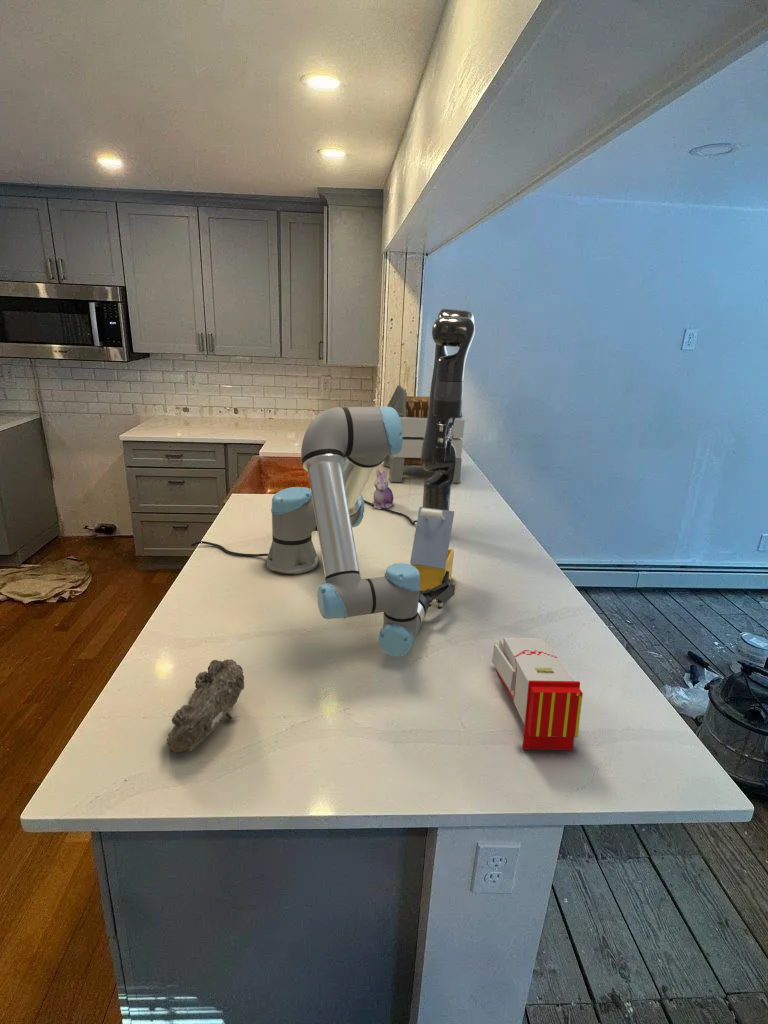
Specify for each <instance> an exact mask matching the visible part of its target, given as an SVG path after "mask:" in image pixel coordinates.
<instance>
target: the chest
mask: <svg viewBox="0 0 768 1024" xmlns="http://www.w3.org/2000/svg"><path fill="white" fill-rule="evenodd" d="M454 553H455V549H454V548H449V549H448V555H447V561H446V567H445V569H440V568H434V567H428V566H422V565H415V564H410V565H412V566H414V567H415V568H416V569H417V570H418V571H419V574H420V591H424V590H427V589H432V588H434V587H437V586H439V585H441V584H442V580H443V578H444V576H445V573H446V571H449V579H450V580H451V581H452V578H453V577H452V576H453V567H454V556H455V555H454ZM435 599H436V598H435ZM435 599H433V600H435Z"/></svg>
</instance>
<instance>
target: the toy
mask: <svg viewBox="0 0 768 1024" xmlns="http://www.w3.org/2000/svg"><path fill="white" fill-rule="evenodd" d="M491 663H492V665H493V666H494V668H495V671H496V673H497V674H498V676H499V678H500V680H501V682H502V683H503V685H504V687H505V688H506V690H507V692H508V694H509V696H510V698H511V699H512V701H513V704H514V706H515V707H516V708H515V709H516V710H517V712H518V715H519V717H520V719H521V721H522V723H523V725H524V727H523V737H522V749H523V750H548V751H549V750H552V751H553V750H554V751H555V750H556V751H557V750H559V751H560V750H561V751H572V750H574V741H575V738H578V736H579V729H580V722H581V721H580V720H581V713H582V704H583V695H584V694H583V691H582V690H581V687H580V686H581V682H580V681H578V680H574V678H573V677H572V676H571V674H570V673H569V672H568V670H567V669H566V667H565V665H563V663H562V662H561V661H560V659H559V658H558V656H557V655H556V653H555V652H554V651H553V650H552V647H551V645H550V644H549V643H548V642H547V641H546V640H545V638H544V637H543V638H542V637H541V638H539V637H503V638H499V642H498V643H494V644H493V649H492V658H491Z"/></svg>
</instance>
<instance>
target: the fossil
mask: <svg viewBox="0 0 768 1024" xmlns="http://www.w3.org/2000/svg"><path fill="white" fill-rule="evenodd" d="M243 670H244V669H243V667H242V665H240V664H237V662H236V661H235V660H234V659H232V658H231V659H227V658H226V659H224V660H223V661H222V660H217V659H212V660H211V661H210V663H209V665H208V666H207V671H201V672H199V673H198V674H197V675H196V676H195V680H194V684H195V685H194V687H195V689H194V690H193V693H192V694H191V697H190V698H189V700H188V704H184V705H182V706H181V707H180V709H177V710H176V711H175V713H174V715H173V716H172V718H171V723H172V724H173V727H172V730H171V731H170V732H168V734H167V738H166V741H167V742H166V745H167V749H168V750H169V751H173V752H174V753H176V754H178V753H182V752H188V751H189V752H192V751H193V750H195V748H196V747H197V746H199V744H200V743H201V742H203V741H204V740H205V739H206V738H207V737H208V736H209V735H210V734H211V733H212V732H214V730H215V729H217V727H218V726H219V724H220V722H221V721H222V720H223V719H224V718H225V716H226V717H227V719H229V720H233V717H232V715H230V714H229V710H230V709H231V708H234V706H235V704H236V703H237V702H238V699H239V697H240V695H241V693H242V691H243V690H245V689H244V688H245V675H244V671H243Z"/></svg>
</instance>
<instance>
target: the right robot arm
mask: <svg viewBox="0 0 768 1024" xmlns="http://www.w3.org/2000/svg"><path fill="white" fill-rule="evenodd" d="M475 326H476V325H475V317H474V314H473V313H472V312H471V311H468V310H464V309H453V308H442V309H440V311H439V313H438V316H437V319H435V321H434V322H433V325H432V329H431V337H432V340H433V343H435V349H434V362H433V370H432V376H431V383H430V391H429V397H430V399H429V410H428V418H427V425H426V431H425V436H424V440H423V445H422V451H421V464H422V466H421V467H422V469H423V470H424V471H426V472H428V473H429V472H434V474H433V475H431V476H429V477H428V478H427V479H425V480H424V482H423V493H422V496H423V497H422V506H421V507H425V508H433V509H440V510H448V511H450V504H451V494H452V493H451V491H452V486H453V484H454V483H453V480H454V472H455V465H456V451H455V448H454V446H453V445H452V444H451V442H450V441H452V440H453V437H454V423H455V418H458V417H460V416H461V412H463V411H462V409H463V399H464V377H465V376H464V375H465V366H466V360H467V356H468V353H469V351H470V347H471V345H472V342H473V339H474V337H475V333H476V327H475ZM447 347H457V348H458V350H457V351H456V353H453V354H449V355H448V351H447ZM440 440H442V441H443V443H441V442H440ZM363 500H364V504H365V503H366V504H368V505H371V506H373V507H374V504H373V502H370V501H367V500H365V499H363ZM380 510H383V511H386V512H389V513H393V514H396V515H399V516H402V517H405V518H406V519H407V520H408V521H409V523H410V524H411V525H415V524H416V523H417V519H416V520H412V519H411V518H410V516H408V515H407V514H405V513H402V512H399V511H395V510H392V509H389V508H383V507H381V509H380Z"/></svg>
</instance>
